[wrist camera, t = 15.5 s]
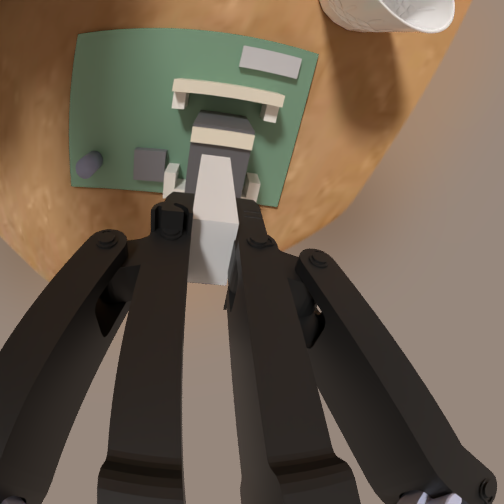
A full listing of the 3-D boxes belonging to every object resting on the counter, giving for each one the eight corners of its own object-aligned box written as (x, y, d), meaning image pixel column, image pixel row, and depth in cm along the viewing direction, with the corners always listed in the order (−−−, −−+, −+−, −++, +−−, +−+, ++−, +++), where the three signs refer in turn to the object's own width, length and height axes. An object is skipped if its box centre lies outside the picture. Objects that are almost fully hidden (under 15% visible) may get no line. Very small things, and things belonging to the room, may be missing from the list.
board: (73, 184, 24) (61, 196, 22) (80, 34, 15) (66, 32, 13) (276, 205, 28) (281, 218, 26) (317, 54, 19) (328, 53, 17)
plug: (191, 171, 25) (182, 206, 19) (201, 109, 21) (192, 124, 16) (233, 176, 26) (238, 213, 20) (246, 116, 22) (255, 133, 16)
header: (167, 186, 25) (160, 203, 23) (180, 78, 19) (174, 78, 17) (251, 196, 27) (255, 214, 24) (276, 92, 21) (285, 95, 18)
